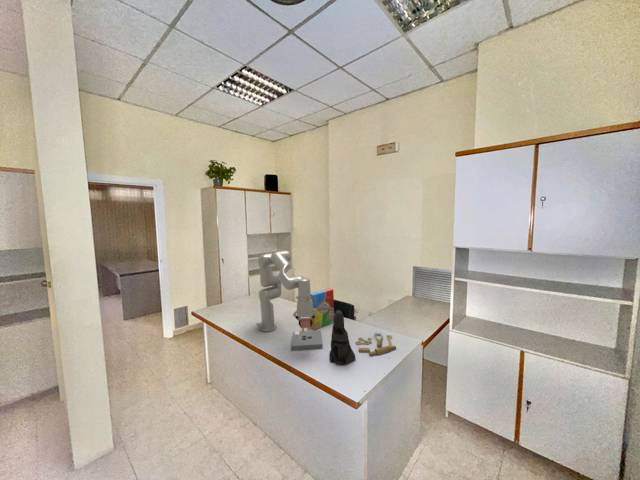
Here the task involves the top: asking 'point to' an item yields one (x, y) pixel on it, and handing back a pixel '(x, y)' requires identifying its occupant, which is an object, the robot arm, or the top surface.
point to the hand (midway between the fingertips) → (305, 325)
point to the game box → (323, 308)
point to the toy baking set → (379, 344)
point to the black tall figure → (340, 342)
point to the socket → (306, 340)
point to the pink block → (305, 323)
